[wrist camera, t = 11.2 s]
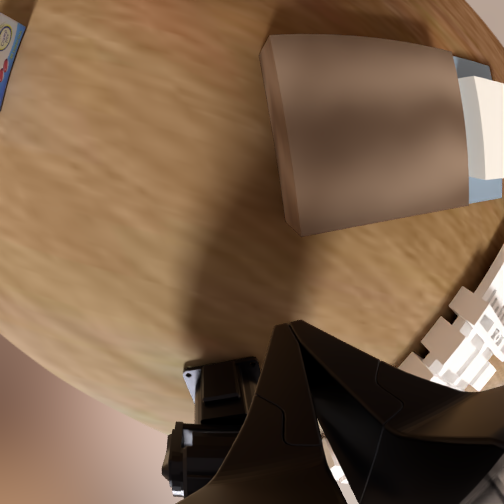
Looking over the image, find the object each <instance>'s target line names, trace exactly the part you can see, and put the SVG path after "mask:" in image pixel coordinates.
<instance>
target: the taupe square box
mask: <svg viewBox="0 0 504 504" xmlns="http://www.w3.org/2000/svg"><path fill="white" fill-rule="evenodd" d="M259 59H260V64H261V70H262V75H263V80H264V86H265V92H266V97H267V103H268V109H269V115H270V121H271V127H272V133H273V139H274V146H275V152H276V158H277V165H278V172H279V178H280V185H281V192H282V199H283V206H284V214H285V221H286V223H287V224H289V225H290V226H291V227H292V228H293V229H294V230H295V231H296V232H297V233H298V234H299V235H300V236H301V237H304V236H309V235H314V234H320V233H325V232H330V231H335V230H341V229H346V228H351V227H356V226H362V225H367V224H372V223H378V222H383V221H388V220H394V219H399V218H404V217H410V216H415V215H420V214H426V213H431V212H437V211H442V210H447V209H453V208H458V207H464V206H469V169H468V151H467V139H466V129H465V120H464V112H463V105H462V99H461V93H460V87H459V82H458V77H457V72H456V67H455V63H454V59H453V55H452V52H451V51H447V50H443V49H438V48H434V47H429V46H424V45H419V44H414V43H408V42H402V41H396V40H389V39H381V38H373V37H363V36H350V35H333V34H281V35H269V37H268V39H267V41H266V43H265V45H264V47H263V48H262V50H261V52H260V54H259Z"/></svg>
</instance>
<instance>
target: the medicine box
mask: <svg viewBox="0 0 504 504" xmlns="http://www.w3.org/2000/svg"><path fill="white" fill-rule="evenodd" d="M25 28H26V27H25V26H23V25H22V24H20V23H18V22H17V21H15V20H13V19H11V18H10V17H8V16H6V15H4V14H2V13H1V12H0V110H1V106H2V101H3V97H4V93H5V89H6V85H7V81H8V78H9V74H10V71H11V67H12V64H13V61H14V58H15V55H16V52H17V49H18V46H19V44H20V41H21V38H22V36H23V33H24V31H25Z"/></svg>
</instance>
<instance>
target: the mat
mask: <svg viewBox="0 0 504 504" xmlns="http://www.w3.org/2000/svg"><path fill="white" fill-rule="evenodd" d="M453 59H454V63H455V67H456V72H457V77H458V78H464V77H470V76H476V77H481V78H485V79H488V80H492V78H491V73H490V68H489V66H486V65H483V64H480V63H477V62H473V61H470V60H466V59H463V58H459V57H455V56H453ZM498 198H502V178H499V179H490V180H483V179H478V178H473V177H469V203H475V202H481V201H486V200H492V199H498Z"/></svg>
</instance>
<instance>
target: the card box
mask: <svg viewBox="0 0 504 504" xmlns="http://www.w3.org/2000/svg"><path fill="white" fill-rule="evenodd" d="M458 82H459V87H460V93H461V99H462V105H463V112H464V120H465V129H466V139H467V151H468V169H469V177H473V178H478V179H483V180H490V179H499V178H504V84H503V83H499V82H496V81H492V80H488V79H485V78H481V77H476V76H470V77H464V78H458Z"/></svg>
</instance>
